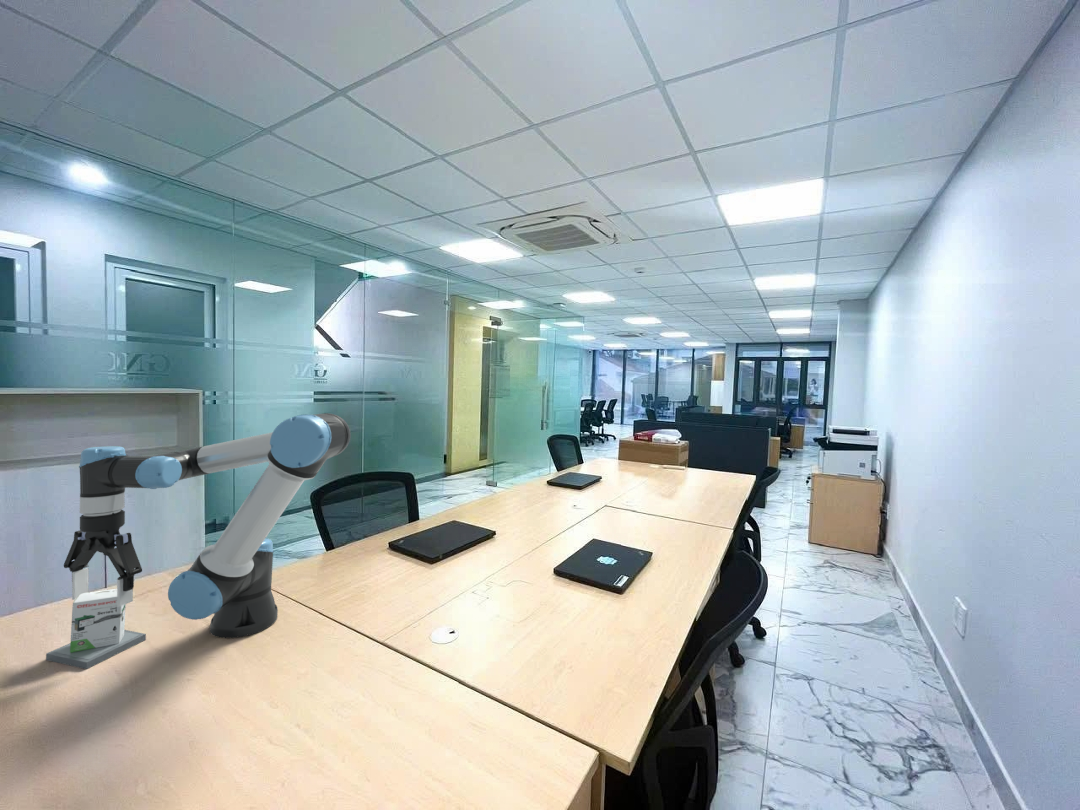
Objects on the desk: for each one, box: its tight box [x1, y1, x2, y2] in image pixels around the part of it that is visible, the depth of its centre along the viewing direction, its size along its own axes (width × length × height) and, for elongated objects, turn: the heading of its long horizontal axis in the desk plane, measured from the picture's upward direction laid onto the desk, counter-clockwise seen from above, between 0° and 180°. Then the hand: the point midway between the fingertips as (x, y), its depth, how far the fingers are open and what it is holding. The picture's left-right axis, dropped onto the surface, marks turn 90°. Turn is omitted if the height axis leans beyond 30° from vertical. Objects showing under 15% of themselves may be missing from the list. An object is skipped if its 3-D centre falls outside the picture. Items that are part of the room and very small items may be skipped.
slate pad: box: [45, 629, 147, 670], centre depth 103 cm, size 12×12×2 cm
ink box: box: [70, 588, 127, 653], centre depth 102 cm, size 9×5×12 cm, turn 124°
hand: (102, 600), depth 102 cm, fingers open, 13 cm apart
